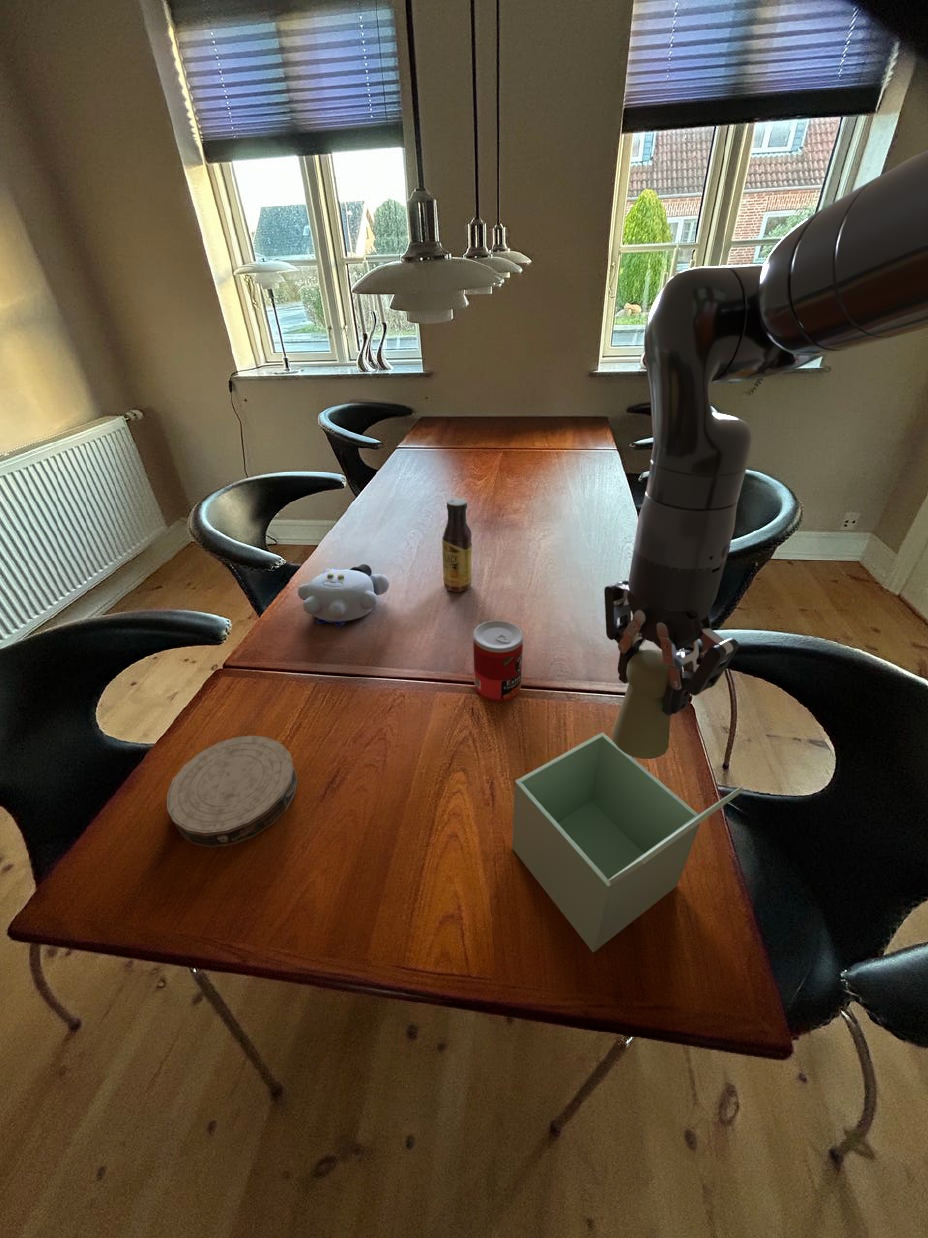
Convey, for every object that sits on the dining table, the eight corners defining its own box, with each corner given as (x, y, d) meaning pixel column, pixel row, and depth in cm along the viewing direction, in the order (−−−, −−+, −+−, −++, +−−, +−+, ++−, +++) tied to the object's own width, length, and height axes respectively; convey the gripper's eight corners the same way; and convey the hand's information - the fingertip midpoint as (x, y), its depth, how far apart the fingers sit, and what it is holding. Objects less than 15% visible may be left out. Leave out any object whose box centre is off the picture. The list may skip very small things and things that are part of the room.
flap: (702, 812, 53) (705, 815, 53) (608, 880, 47) (611, 885, 47) (740, 786, 47) (744, 790, 47) (639, 860, 42) (643, 864, 42)
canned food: (509, 709, 84) (511, 654, 78) (465, 693, 88) (463, 640, 81) (528, 680, 90) (531, 627, 84) (486, 667, 93) (485, 615, 87)
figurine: (363, 637, 101) (403, 594, 118) (359, 597, 97) (400, 558, 114) (284, 625, 105) (332, 585, 122) (276, 586, 101) (328, 550, 118)
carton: (677, 885, 60) (702, 817, 53) (593, 953, 54) (608, 887, 47) (591, 798, 70) (602, 732, 63) (512, 848, 64) (514, 781, 57)
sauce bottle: (438, 585, 117) (432, 500, 106) (460, 576, 120) (457, 492, 109) (456, 597, 113) (452, 509, 102) (478, 587, 116) (477, 501, 105)
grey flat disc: (183, 764, 77) (176, 749, 75) (296, 739, 80) (291, 725, 79) (163, 862, 64) (155, 848, 62) (298, 828, 68) (293, 813, 66)
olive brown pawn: (613, 755, 56) (626, 675, 50) (610, 716, 61) (622, 638, 55) (672, 762, 55) (694, 681, 49) (665, 721, 60) (683, 643, 54)
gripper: (589, 528, 49) (574, 671, 58) (725, 593, 39) (681, 754, 48) (646, 509, 52) (624, 648, 61) (786, 565, 42) (734, 721, 51)
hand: (649, 694), depth 55 cm, fingers closed on olive brown pawn, 5 cm apart
